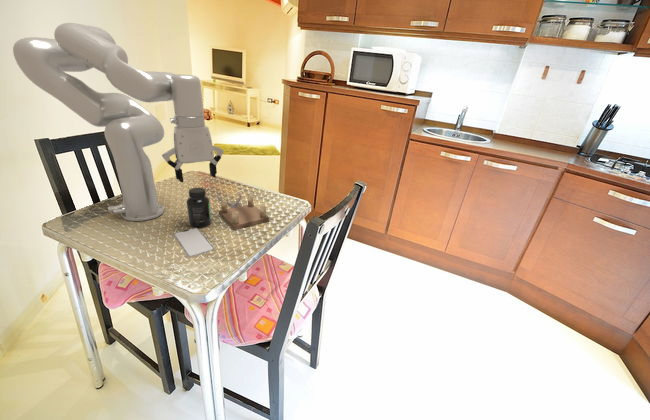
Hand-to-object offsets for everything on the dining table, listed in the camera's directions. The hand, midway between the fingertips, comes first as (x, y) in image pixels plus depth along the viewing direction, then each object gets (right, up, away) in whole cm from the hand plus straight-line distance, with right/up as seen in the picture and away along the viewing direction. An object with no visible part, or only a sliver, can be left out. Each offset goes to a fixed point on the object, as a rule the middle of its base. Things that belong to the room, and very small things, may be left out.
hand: (197, 178), depth 91 cm
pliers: (+5, -7, +25) cm, 26 cm away
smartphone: (0, -20, -3) cm, 20 cm away
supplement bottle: (-2, -14, +7) cm, 16 cm away
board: (+11, -13, +13) cm, 21 cm away
